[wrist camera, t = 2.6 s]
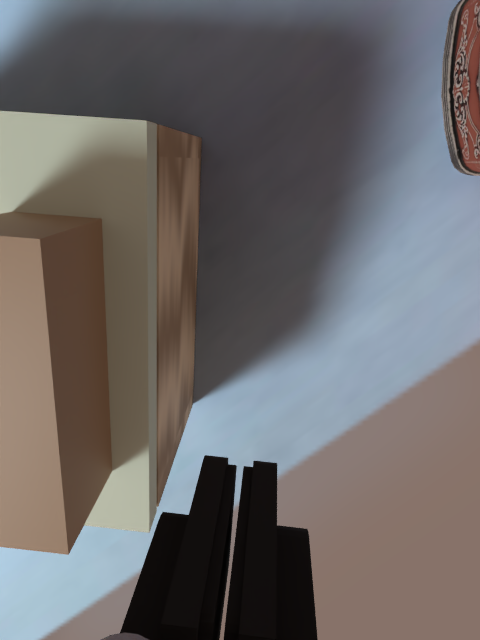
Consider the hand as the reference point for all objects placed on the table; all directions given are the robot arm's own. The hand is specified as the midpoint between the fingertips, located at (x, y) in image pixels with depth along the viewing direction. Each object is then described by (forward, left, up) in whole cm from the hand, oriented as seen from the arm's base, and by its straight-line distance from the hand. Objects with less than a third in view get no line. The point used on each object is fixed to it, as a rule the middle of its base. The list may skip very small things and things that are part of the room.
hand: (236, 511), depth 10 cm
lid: (-1, -11, -7) cm, 13 cm away
